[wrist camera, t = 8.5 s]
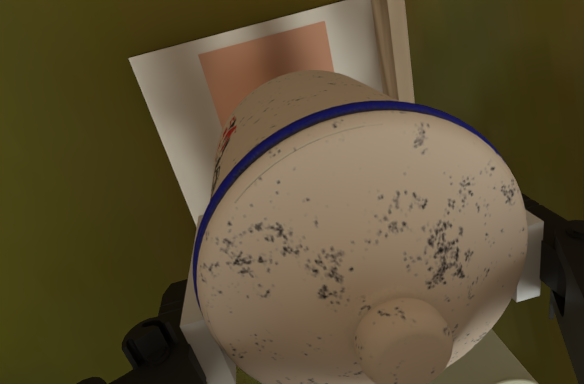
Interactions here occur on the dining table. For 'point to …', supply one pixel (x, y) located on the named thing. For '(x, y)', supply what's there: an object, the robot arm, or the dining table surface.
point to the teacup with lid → (354, 236)
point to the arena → (264, 75)
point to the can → (486, 366)
